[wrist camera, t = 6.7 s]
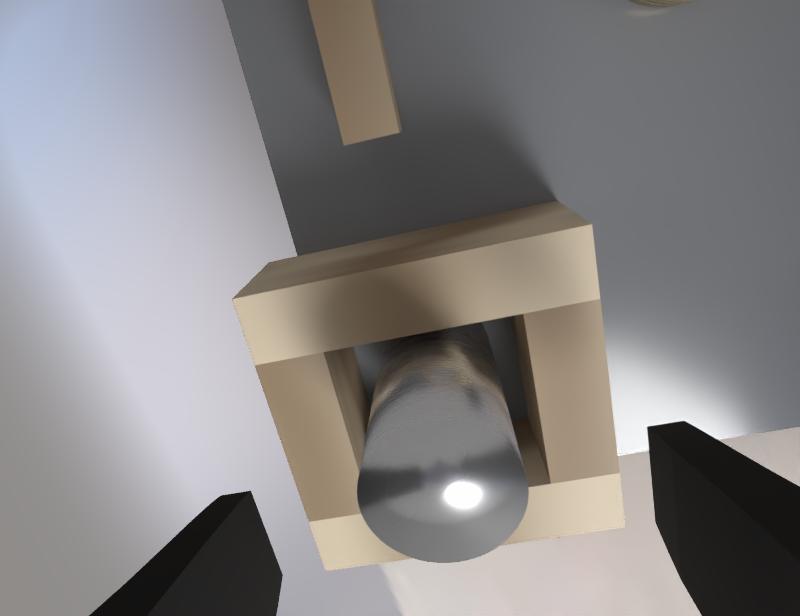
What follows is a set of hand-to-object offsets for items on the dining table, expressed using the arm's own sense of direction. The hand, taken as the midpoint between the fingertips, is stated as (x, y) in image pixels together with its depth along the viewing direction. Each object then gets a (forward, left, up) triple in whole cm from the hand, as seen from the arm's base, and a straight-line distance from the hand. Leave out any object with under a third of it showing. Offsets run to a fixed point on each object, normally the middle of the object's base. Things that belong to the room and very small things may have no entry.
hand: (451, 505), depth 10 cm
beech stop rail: (0, -10, -6) cm, 11 cm away
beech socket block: (0, 0, -6) cm, 6 cm away
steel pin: (0, 0, -6) cm, 6 cm away
